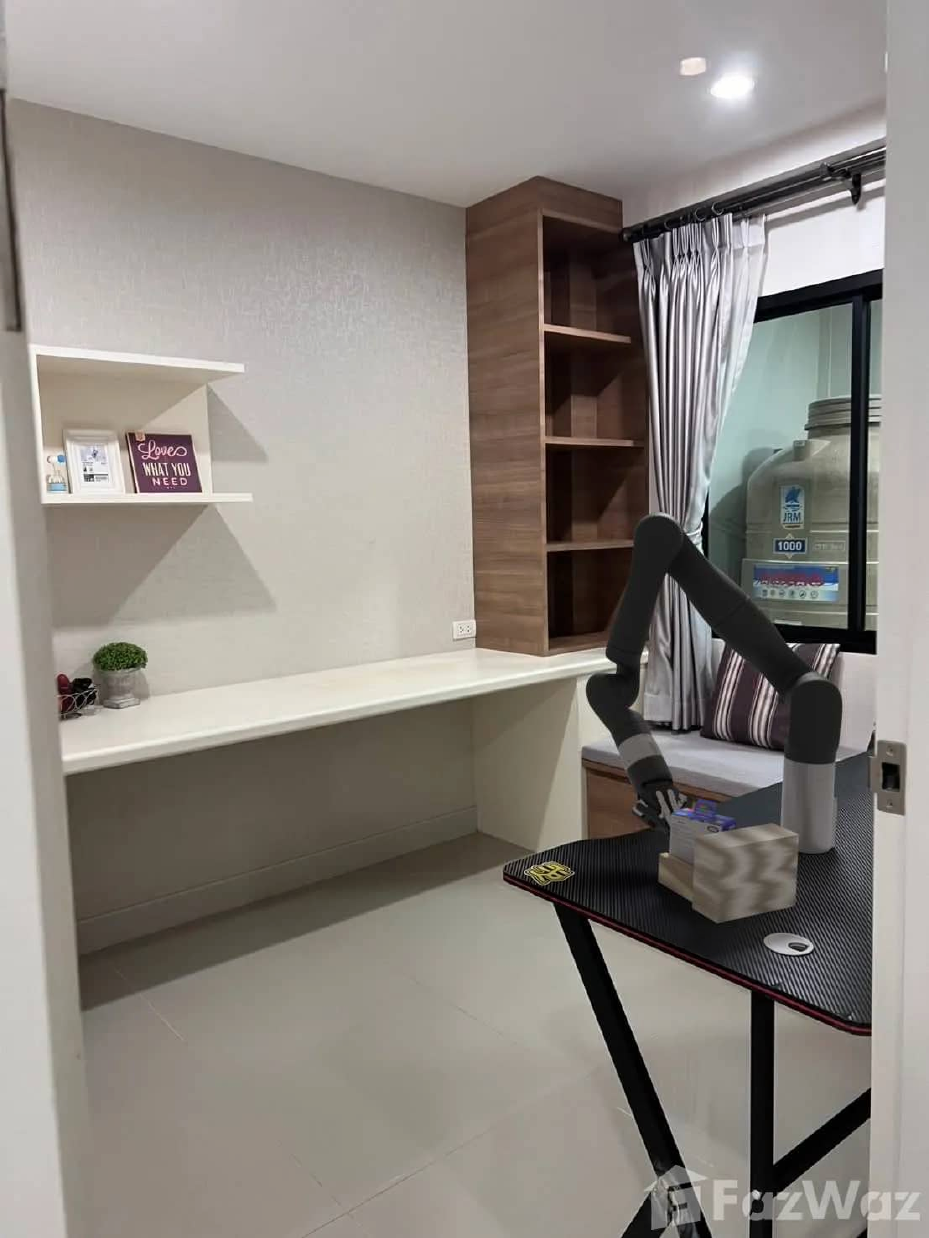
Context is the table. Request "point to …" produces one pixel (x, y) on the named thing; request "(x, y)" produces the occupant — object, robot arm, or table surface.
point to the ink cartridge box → (695, 829)
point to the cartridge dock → (737, 872)
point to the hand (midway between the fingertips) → (682, 848)
